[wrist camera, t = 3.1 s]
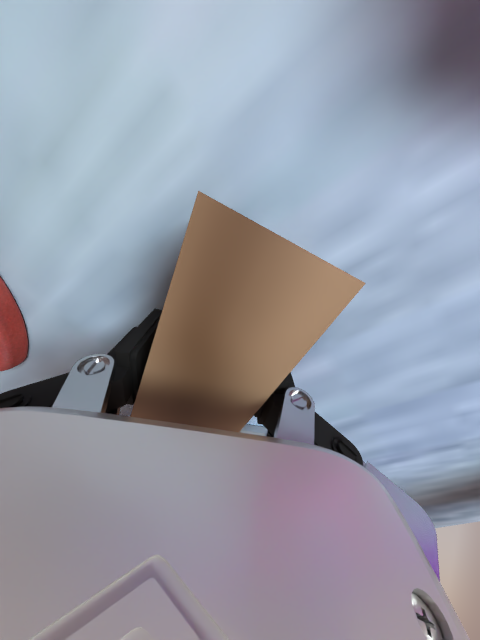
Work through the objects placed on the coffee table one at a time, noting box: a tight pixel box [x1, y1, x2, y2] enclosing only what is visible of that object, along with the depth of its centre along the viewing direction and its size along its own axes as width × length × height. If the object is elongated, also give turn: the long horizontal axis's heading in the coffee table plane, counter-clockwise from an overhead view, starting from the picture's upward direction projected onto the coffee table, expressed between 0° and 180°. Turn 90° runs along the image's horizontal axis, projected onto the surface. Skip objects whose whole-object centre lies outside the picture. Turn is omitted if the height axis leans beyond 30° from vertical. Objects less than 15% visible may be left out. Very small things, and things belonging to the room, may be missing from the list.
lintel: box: [130, 191, 365, 432], centre depth 10 cm, size 5×14×5 cm, turn 154°
